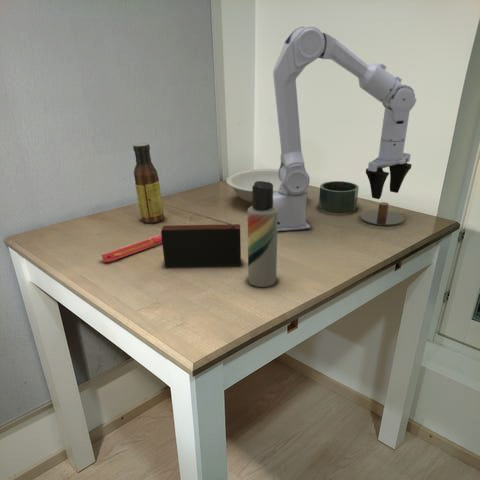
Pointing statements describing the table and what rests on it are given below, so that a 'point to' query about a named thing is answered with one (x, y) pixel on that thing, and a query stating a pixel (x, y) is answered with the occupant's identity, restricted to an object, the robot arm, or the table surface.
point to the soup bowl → (253, 181)
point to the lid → (382, 216)
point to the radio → (201, 244)
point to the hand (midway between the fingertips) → (385, 195)
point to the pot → (338, 197)
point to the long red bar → (132, 248)
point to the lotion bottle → (262, 236)
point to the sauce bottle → (147, 185)
